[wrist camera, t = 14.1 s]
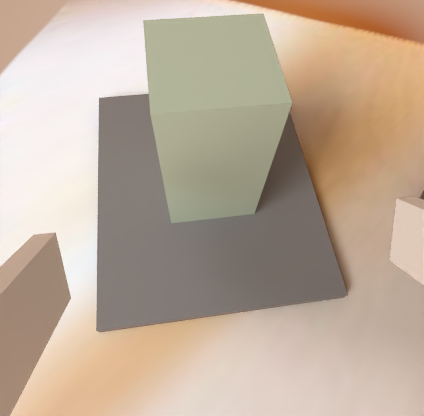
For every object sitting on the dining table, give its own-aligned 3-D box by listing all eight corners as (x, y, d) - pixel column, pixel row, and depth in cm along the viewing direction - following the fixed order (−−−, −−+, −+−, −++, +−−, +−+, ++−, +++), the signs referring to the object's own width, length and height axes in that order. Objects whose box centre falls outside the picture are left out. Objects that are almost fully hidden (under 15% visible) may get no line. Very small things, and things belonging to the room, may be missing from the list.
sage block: (239, 146, 27) (263, 13, 17) (254, 213, 24) (292, 102, 14) (164, 153, 26) (143, 20, 16) (171, 223, 23) (150, 114, 14)
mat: (278, 90, 31) (280, 83, 30) (343, 297, 22) (347, 294, 21) (101, 104, 29) (99, 97, 28) (100, 332, 21) (96, 330, 20)
